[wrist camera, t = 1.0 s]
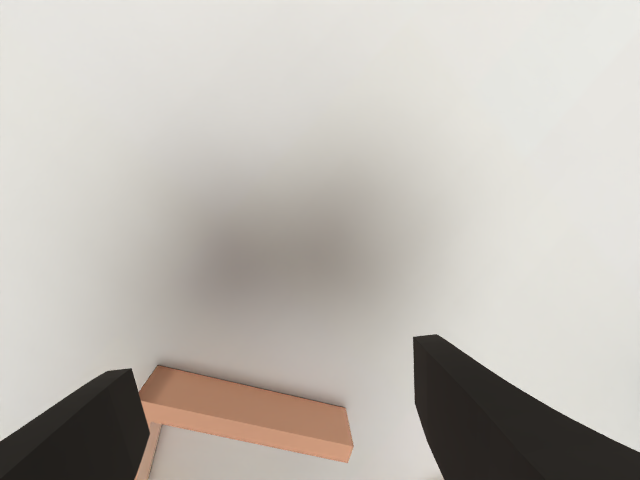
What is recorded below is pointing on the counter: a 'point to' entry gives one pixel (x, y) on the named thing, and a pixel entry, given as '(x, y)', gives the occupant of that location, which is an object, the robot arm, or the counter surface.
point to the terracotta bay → (241, 416)
